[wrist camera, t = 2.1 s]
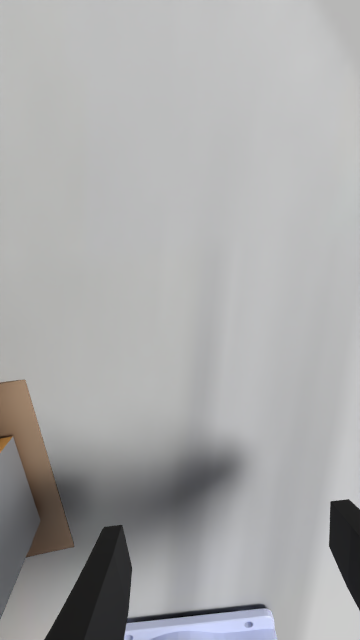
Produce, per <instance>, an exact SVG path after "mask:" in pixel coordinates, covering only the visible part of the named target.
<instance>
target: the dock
mask: <svg viewBox="0 0 360 640" xmlns="http://www.w3.org/2000/svg"><path fill="white" fill-rule="evenodd" d="M12 436H13V438H14V441H15V444H16V447H17V450H18V453H19V456H20V459H21V462H22V465H23V469H24V472H25V475H26V478H27V481H28V484H29V487H30V490H31V493H32V496H33V499H34V502H35V505H36V508H37V511H38V514H39V517H40V520H41V521H40V523H39V526H38V528H37V531H36V533H35V536H34V538H33V542H32V546H31V548H30V550H29V551H28V553H27V555H26V557H30V556H34V555H39V554H43V553H48V552H52V551H57V550H61V549H66V548H70V547H74V543H73V540H72V537H71V533H70V530H69V526H68V523H67V520H66V516H65V513H64V509H63V506H62V503H61V499H60V496H59V493H58V489H57V486H56V482H55V479H54V476H53V472H52V469H51V466H50V462H49V459H48V455H47V452H46V449H45V445H44V442H43V438H42V435H41V432H40V428H39V425H38V422H37V418H36V415H35V411H34V408H33V405H32V401H31V398H30V394H29V391H28V388H27V384H26V381H25V380H17V381H9V382H1V383H0V439H1V438H6V437H12Z"/></svg>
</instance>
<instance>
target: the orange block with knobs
mask: <svg viewBox="0 0 360 640" xmlns="http://www.w3.org/2000/svg"><path fill="white" fill-rule="evenodd" d="M40 521H41V520H40V517H39V514H38V511H37V508H36V505H35V502H34V499H33V496H32V493H31V490H30V487H29V484H28V481H27V478H26V475H25V472H24V469H23V465H22V462H21V459H20V456H19V453H18V450H17V447H16V444H15V441H14V438H13V436H12V437H6V438H1V439H0V619H1V616H2V614H3V612H4V609H5V607H6V604H7V602H8V599H9V597H10V594H11V592H12V590H13V587H14V585H15V582H16V580H17V577H18V575H19V572H20V570H21V568H22V565H23V563H24V560H25V558H26V555H27V553H28V551H29V550H30V548H31V546H32V542H33V538H34V536H35V533H36V531H37V528H38V526H39V523H40Z"/></svg>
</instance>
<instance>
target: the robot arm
mask: <svg viewBox="0 0 360 640" xmlns="http://www.w3.org/2000/svg"><path fill="white" fill-rule="evenodd" d="M329 547H330V549H331V551H332V554H333V556H334V558H335V561H336V563H337V565H338V568H339V570H340V572H341V574H342V576H343V579H344V581H345V583H346V585H347V587H348V589H349V591H350V593H351V595H352V597H353V599H354V601H355V603H356V604H357V606H358V608H359V610H360V509H359V508H358V507H356V506H355V505H354V504H353V503H352V502H351V501H350V500H349V499H348V500H339V501H331V506H330V538H329ZM131 575H132V566H131V561H130V557H129V553H128V548H127V544H126V540H125V535H124V531H123V527H122V525H118V526H109V527H104V528H103V529H102V531H101V533H100V535H99V538H98V540H97V542H96V544H95V546H94V548H93V550H92V552H91V554H90V556H89V558H88V560H87V562H86V564H85V566H84V568H83V570H82V572H81V574H80V576H79V578H78V580H77V582H76V584H75V585H74V587H73V589H72V591H71V593H70V595H69V597H68V598H67V600H66V602H65V604H64V606H63V608H62V610H61V611H60V613H59V615H58V617H57V619H56V620H55V622H54V624H53V626H52V627H51V629H50V631H49V633H48V634H47V636H46V638H45V639H44V640H278V639H277V636H276V632H275V629H274V618H273V615H272V612H271V611H270V610H269V609H266V608H261V609H252V610H243V611H234V612H225V613H216V614H207V615H197V616H188V617H179V618H170V619H161V620H152V621H143V622H133V623H127V617H128V610H129V599H130V587H131Z"/></svg>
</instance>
